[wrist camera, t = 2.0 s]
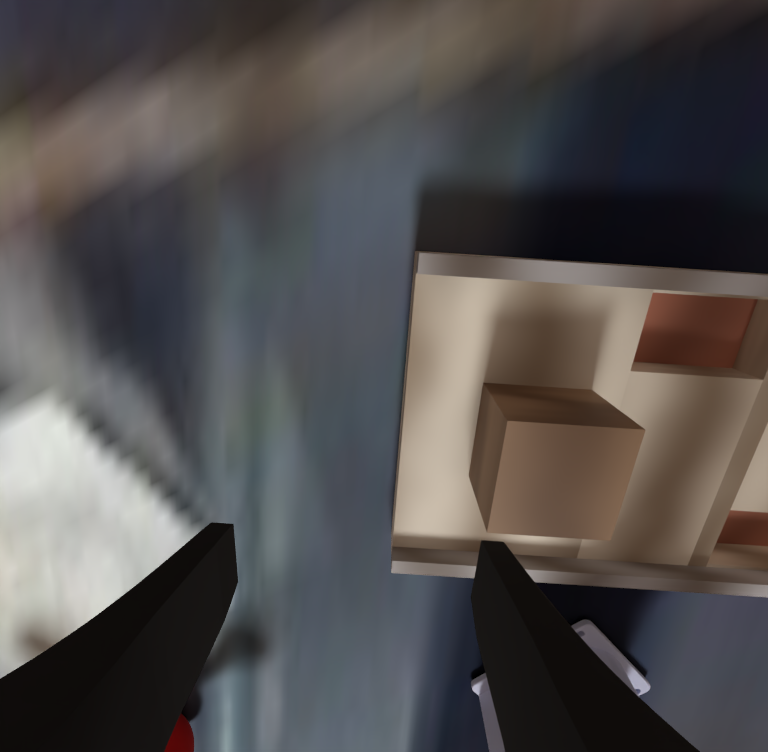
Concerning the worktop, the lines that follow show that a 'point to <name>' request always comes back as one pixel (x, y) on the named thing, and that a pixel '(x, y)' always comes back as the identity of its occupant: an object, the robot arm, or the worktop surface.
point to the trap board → (617, 386)
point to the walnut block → (551, 461)
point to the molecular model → (181, 737)
